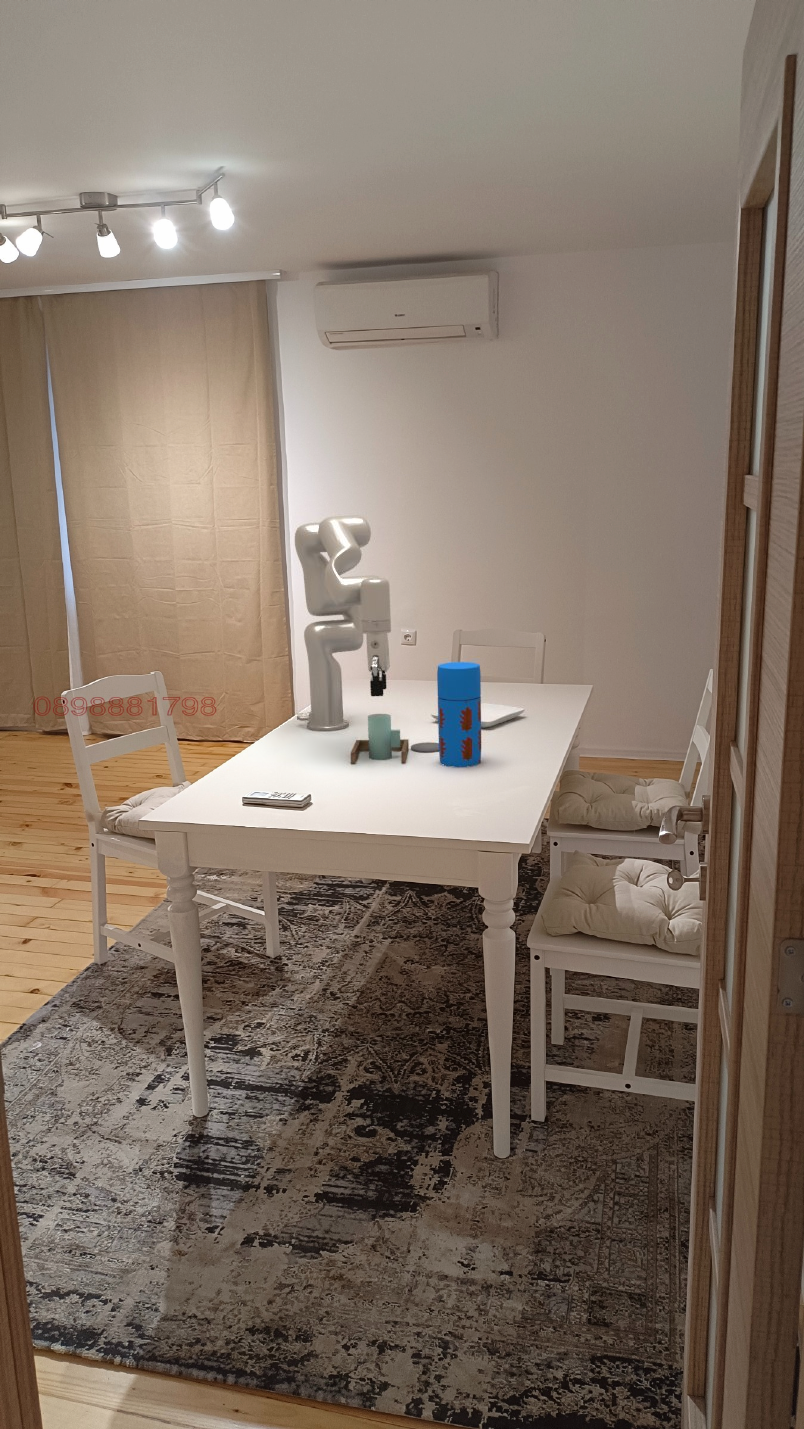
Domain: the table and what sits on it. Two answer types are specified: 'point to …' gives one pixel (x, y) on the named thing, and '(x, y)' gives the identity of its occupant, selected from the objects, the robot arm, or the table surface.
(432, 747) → the coaster
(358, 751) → the holder
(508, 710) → the salad plate
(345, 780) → the table surface
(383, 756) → the teal mug
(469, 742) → the thermos
